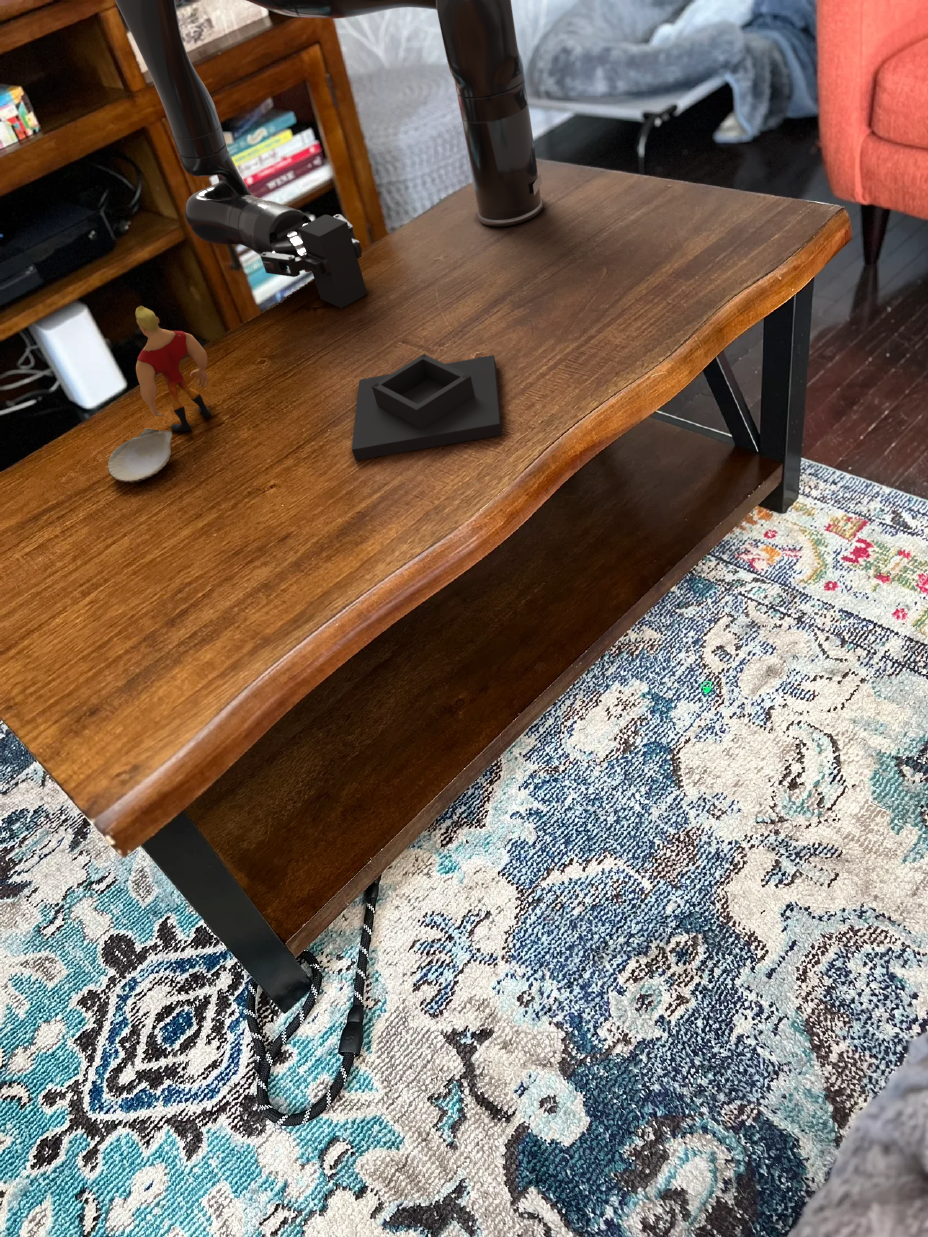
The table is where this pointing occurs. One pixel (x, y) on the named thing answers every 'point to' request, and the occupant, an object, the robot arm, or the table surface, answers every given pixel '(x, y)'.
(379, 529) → the table surface
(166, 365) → the action figure
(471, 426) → the socket pad
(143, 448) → the scallop shell
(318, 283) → the black rectangular block
